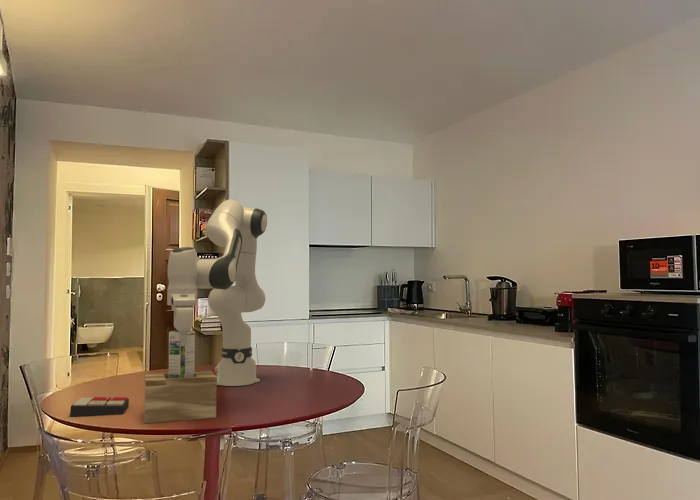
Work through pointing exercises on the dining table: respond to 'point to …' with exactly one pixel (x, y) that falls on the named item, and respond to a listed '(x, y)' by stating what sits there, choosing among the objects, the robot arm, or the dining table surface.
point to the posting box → (179, 397)
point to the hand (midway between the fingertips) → (181, 344)
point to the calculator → (99, 406)
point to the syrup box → (181, 355)
